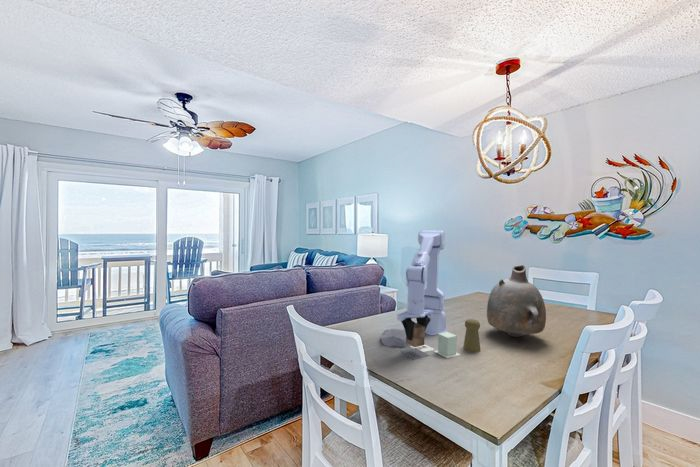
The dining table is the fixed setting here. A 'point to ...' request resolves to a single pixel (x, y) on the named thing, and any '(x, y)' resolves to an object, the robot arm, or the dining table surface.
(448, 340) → the sage block
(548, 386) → the dining table surface
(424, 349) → the cream tile
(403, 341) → the stone block
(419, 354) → the charcoal mat
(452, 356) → the tile
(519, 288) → the jug
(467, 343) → the cork
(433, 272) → the robot arm
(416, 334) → the walnut block
